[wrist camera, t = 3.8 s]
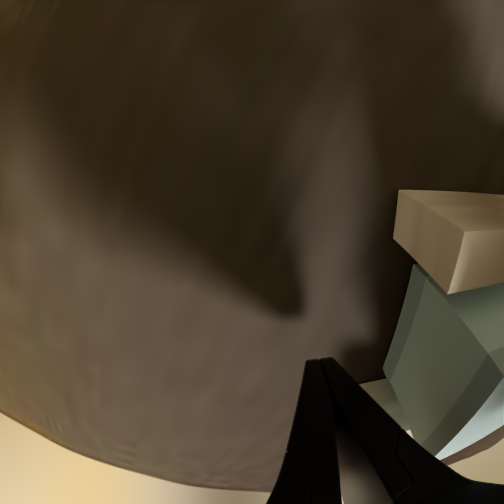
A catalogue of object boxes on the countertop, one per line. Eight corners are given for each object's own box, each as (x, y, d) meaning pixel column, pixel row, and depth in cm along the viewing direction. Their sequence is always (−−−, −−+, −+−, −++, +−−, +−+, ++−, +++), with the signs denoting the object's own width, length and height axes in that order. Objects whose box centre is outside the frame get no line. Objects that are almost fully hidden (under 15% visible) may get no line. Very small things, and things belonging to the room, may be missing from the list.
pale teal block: (513, 250, 8) (586, 317, 4) (478, 339, 11) (525, 409, 6) (412, 263, 8) (503, 376, 4) (381, 367, 11) (422, 467, 6)
